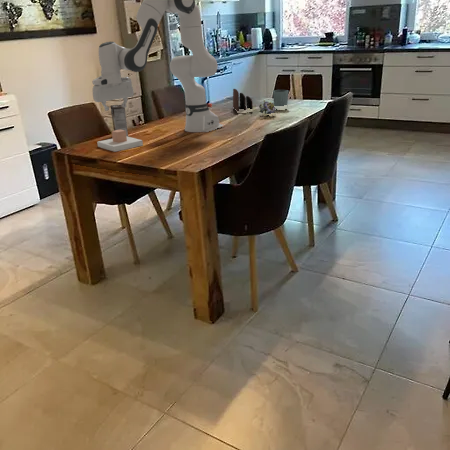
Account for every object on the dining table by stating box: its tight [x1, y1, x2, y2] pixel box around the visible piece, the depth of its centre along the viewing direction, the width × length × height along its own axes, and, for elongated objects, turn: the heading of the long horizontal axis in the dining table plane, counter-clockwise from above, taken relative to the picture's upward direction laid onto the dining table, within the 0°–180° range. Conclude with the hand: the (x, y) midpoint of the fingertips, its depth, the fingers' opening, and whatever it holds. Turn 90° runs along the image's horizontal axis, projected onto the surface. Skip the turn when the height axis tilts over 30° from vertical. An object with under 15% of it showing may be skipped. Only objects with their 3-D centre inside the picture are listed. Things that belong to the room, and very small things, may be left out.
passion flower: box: [258, 99, 276, 115], centre depth 289 cm, size 11×11×12 cm
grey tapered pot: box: [272, 89, 290, 106], centre depth 309 cm, size 10×10×12 cm
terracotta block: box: [111, 129, 127, 143], centre depth 232 cm, size 5×5×5 cm
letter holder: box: [232, 88, 254, 111], centre depth 310 cm, size 10×20×14 cm, turn 8°
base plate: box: [96, 135, 144, 152], centre depth 233 cm, size 16×16×2 cm
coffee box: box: [109, 104, 129, 137], centre depth 251 cm, size 9×6×16 cm
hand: (115, 108), depth 227 cm, fingers open, 8 cm apart
